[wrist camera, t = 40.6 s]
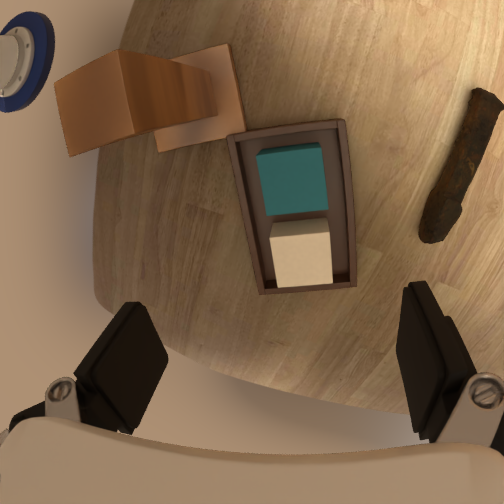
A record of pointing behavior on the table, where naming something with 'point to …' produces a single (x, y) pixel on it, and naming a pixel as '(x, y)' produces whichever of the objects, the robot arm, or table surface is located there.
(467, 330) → the table surface
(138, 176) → the table surface
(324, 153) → the dark brown rectangular tray
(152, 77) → the stand
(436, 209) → the hand tool
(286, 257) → the cream square block
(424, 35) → the table surface
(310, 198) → the teal square block
